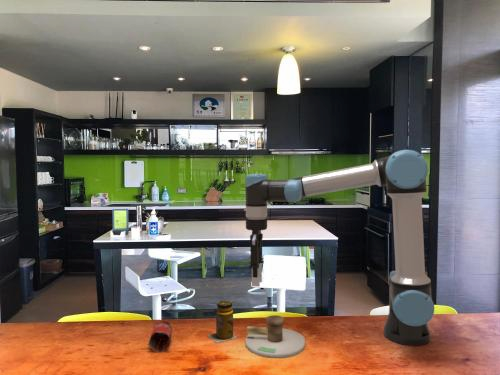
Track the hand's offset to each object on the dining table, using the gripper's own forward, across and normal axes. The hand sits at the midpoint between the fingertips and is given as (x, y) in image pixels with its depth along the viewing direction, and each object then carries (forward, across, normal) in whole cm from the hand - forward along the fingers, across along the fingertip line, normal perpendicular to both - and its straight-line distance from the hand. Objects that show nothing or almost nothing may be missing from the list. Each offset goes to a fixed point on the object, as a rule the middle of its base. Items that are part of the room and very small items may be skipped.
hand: (256, 283), depth 139 cm
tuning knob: (+17, +6, +4) cm, 18 cm away
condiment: (+19, +2, -12) cm, 23 cm away
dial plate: (+19, +6, +7) cm, 21 cm away
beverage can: (+19, +12, -31) cm, 38 cm away
